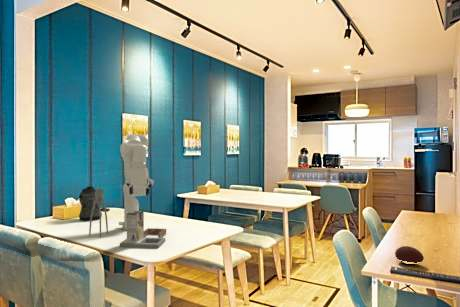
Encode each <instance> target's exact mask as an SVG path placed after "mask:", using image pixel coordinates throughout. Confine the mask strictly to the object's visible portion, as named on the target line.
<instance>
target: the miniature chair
mask: <svg viewBox="0 0 460 307" xmlns="http://www.w3.org/2000/svg"><path fill="white" fill-rule="evenodd" d="M95 190H96V191H95V196H96V200H94V203H93V207H92V212H91V218H90V221H89V234H88V236H91V232H92V222H93V221H92V216H93V211H94V207H95V203H97V204H98V207H99V209H100V220H99V238H100V239H101V238H102V216H101V213H102V210H101V209H102V208H101V207H102V206H101V205H103V209H104V216H105V226H106V227H105V229H106V230H105V231H106V234H109V226H108V225H109V224H108V214H107V213H108V212H107V208H106V202H105V199H104V189H103V187H97V188H96V189H95Z"/></svg>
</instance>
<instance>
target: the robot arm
mask: <svg viewBox="0 0 460 307" xmlns="http://www.w3.org/2000/svg"><path fill="white" fill-rule="evenodd" d="M119 146H120V147H119V150H120V155H121V158H122V160H123V164H124V165H123V166H124V167H123V168H124V178H125V180H124V182H125V183H124V184H123V186H122V191H123V200H124V204H123V205H124V206H123V207H124V212H123V213H124V216H123V217H124V221H119V222H118V225H119V226H121V229H122V230H124V231H127V213H130V212H132V211H140V209H139V208H140V204H139V203H140V202H139V200H138V199H137V198H136V197H142V196H145V197H146V196H149V195H150V191H151V190H150V188H151V187H152V186H153V185H154V182H155V180H153V179H151V178H150V177H149V170H148V168H147V154H148V146H149V137H148V136H147V135H146V134H129V135H127V136H126V139H125V141H124V142H123V143H121V144H120V145H119Z"/></svg>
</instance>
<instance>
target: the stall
mask: <svg viewBox="0 0 460 307" xmlns="http://www.w3.org/2000/svg"><path fill="white" fill-rule="evenodd" d="M149 235H158V237H157V238H165V236H166V235H167V228H157V227H156V228H149V227H148V228H146V229H145V230H144V237H147V236H149Z"/></svg>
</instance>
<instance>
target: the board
mask: <svg viewBox="0 0 460 307" xmlns="http://www.w3.org/2000/svg"><path fill="white" fill-rule="evenodd" d="M165 242H166V237H163V238H158V237H147V236H146V237H144V238H143V239H141V240H139V241H138V242H127V238H126V239H124V240H122V241H121V242H119V248H140V249H141V248H142V249H143V248H144V249H145V248H146V249H159V248H160V247H161V246H162V245H163V244H164V243H165Z"/></svg>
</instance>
